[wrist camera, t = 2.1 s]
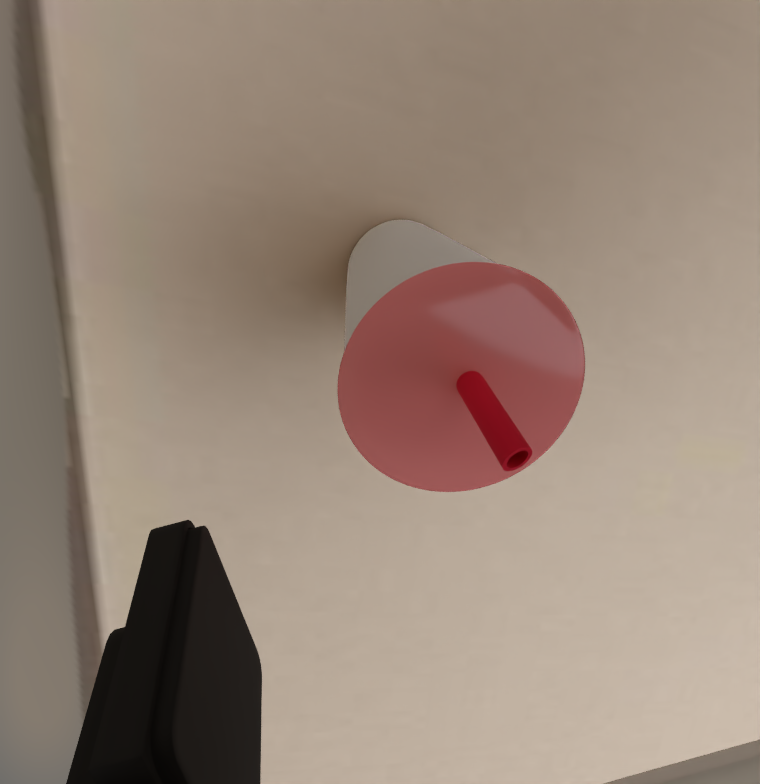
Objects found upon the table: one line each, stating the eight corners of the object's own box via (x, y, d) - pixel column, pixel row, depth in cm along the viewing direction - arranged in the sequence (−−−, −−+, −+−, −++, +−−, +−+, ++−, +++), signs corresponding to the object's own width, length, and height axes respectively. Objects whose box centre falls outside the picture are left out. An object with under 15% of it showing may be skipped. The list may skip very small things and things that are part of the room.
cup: (505, 297, 24) (692, 494, 13) (369, 375, 24) (440, 625, 14) (433, 154, 21) (588, 250, 11) (284, 244, 22) (289, 421, 11)
